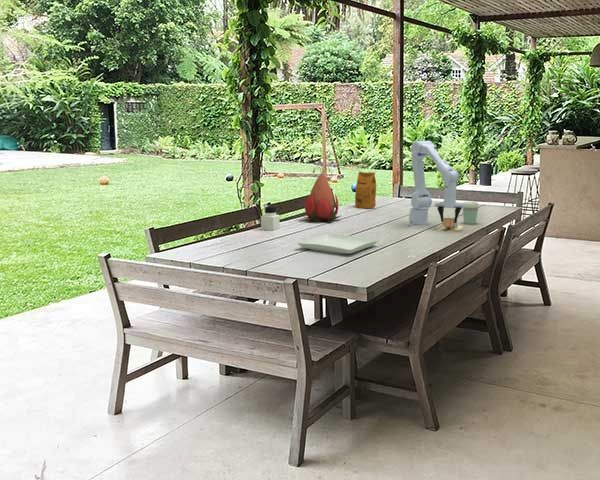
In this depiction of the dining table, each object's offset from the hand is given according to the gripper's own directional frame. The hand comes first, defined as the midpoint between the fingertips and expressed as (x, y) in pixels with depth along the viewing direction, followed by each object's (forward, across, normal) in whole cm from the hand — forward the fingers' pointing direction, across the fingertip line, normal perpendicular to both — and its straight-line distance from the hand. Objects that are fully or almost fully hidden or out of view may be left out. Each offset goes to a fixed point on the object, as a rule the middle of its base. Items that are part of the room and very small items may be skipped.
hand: (448, 222), depth 349 cm
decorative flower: (+5, -70, +10) cm, 71 cm away
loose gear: (+2, 0, 0) cm, 2 cm away
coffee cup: (+5, +8, +22) cm, 24 cm away
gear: (+4, 0, +7) cm, 8 cm away
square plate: (+6, -40, -58) cm, 70 cm away
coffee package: (+5, -60, +62) cm, 87 cm away
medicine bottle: (+5, -86, -26) cm, 90 cm away
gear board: (+5, 0, +4) cm, 7 cm away
